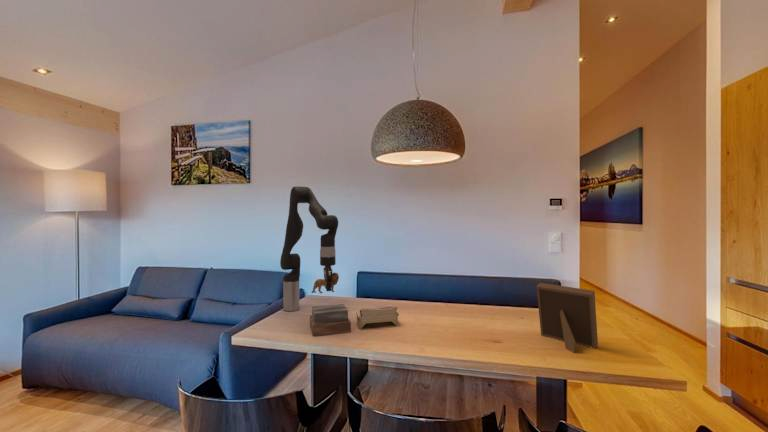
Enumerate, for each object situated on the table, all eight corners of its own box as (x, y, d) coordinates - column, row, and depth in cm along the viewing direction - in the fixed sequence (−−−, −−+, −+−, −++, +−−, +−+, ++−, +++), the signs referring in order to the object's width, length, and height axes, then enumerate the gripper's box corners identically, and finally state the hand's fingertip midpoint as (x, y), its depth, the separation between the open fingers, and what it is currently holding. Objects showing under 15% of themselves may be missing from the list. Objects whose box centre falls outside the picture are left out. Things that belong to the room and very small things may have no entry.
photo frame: (544, 332, 154) (544, 280, 154) (597, 346, 139) (597, 288, 138) (532, 342, 144) (532, 286, 144) (588, 357, 129) (588, 294, 128)
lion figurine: (336, 288, 166) (335, 271, 166) (341, 290, 162) (341, 272, 162) (309, 293, 157) (309, 274, 157) (313, 295, 153) (313, 276, 153)
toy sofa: (394, 320, 173) (394, 301, 173) (399, 326, 165) (399, 306, 165) (355, 324, 168) (355, 304, 168) (358, 330, 159) (358, 309, 159)
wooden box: (309, 325, 166) (309, 305, 166) (344, 321, 171) (344, 302, 171) (312, 336, 151) (312, 315, 150) (350, 332, 156) (350, 311, 156)
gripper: (318, 254, 166) (318, 287, 166) (321, 257, 152) (322, 293, 152) (333, 253, 168) (333, 286, 168) (337, 256, 155) (337, 292, 155)
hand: (328, 289), depth 160 cm, fingers closed on lion figurine, 4 cm apart
